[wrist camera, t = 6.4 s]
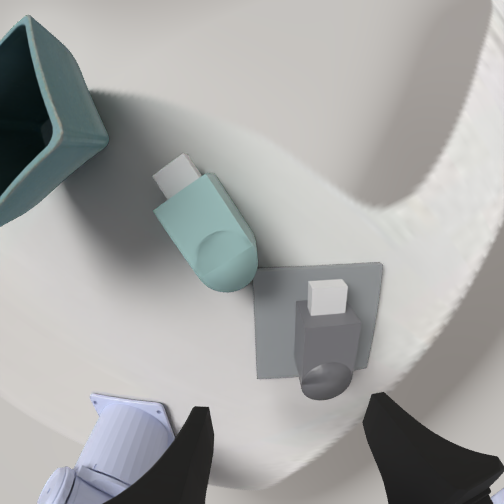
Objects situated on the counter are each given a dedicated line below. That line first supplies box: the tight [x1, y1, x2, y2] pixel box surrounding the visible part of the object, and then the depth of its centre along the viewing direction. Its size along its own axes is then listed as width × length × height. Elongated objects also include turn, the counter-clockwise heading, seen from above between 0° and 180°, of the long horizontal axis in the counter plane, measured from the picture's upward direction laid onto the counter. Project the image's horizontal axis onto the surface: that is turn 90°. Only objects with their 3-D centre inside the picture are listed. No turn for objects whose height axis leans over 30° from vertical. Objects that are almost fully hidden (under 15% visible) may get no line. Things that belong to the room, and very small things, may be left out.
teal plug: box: [152, 153, 258, 292], centre depth 16 cm, size 8×3×4 cm, turn 32°
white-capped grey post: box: [294, 279, 361, 400], centre depth 18 cm, size 8×3×4 cm, turn 2°
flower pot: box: [0, 15, 109, 227], centre depth 12 cm, size 9×9×9 cm
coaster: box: [253, 262, 383, 379], centre depth 20 cm, size 9×9×1 cm
